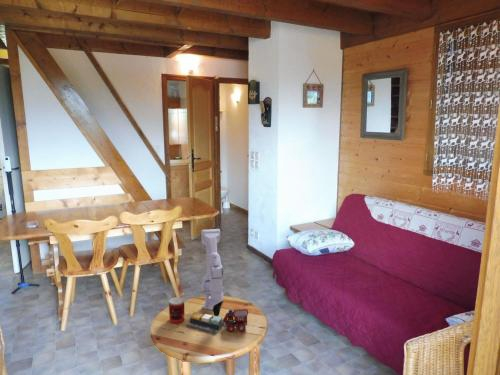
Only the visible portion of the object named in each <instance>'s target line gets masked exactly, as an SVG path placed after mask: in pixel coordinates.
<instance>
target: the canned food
mask: <svg viewBox="0 0 500 375" xmlns="http://www.w3.org/2000/svg"><path fill="white" fill-rule="evenodd" d="M168 310H169V312H168V313H169V314H168V315H169V321H170V323H171V324H173V325H174V324H175V325H179V324H182V323H183V322H184V321H185V318H186V317H185V298H183V297H180V296H174V297H172V298H169V300H168Z"/></svg>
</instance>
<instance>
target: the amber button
mask: <svg viewBox="0 0 500 375" xmlns="http://www.w3.org/2000/svg"><path fill="white" fill-rule="evenodd" d="M199 313H200V312H196V313H194V314H195V315H194V314H193V315H192V316H191V317H192V319H196V320H200V319H201V318H202V317H203V314H204V313H201V314H199Z"/></svg>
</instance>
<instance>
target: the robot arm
mask: <svg viewBox="0 0 500 375" xmlns="http://www.w3.org/2000/svg"><path fill="white" fill-rule="evenodd" d="M200 236H201V237H200V238H201V245H202V244H203V245H205V248H206V249H205V250H206V252H205V253H206V274H205V275H204V276H202V278H201V281H202V282H201V290H202V292H203V293H204V305H202V306H201V308H202V309H204V310H209V311H212V312H213V317H215V316H216V317H220V316H219V315H220V312H221V308H222V306H223V303H224V300H223V299H224V295H225V294H224V293H225V292H223V279H224V275H225V274H224V267H223V264H222V263H221V262H222V261H221V255H220V254H219V253H218V243H219V242H220V240H221V229H220V228H215V229H213V228H212V229H210V228H209V229H202V230H201V234H200Z"/></svg>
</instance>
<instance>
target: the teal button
mask: <svg viewBox="0 0 500 375" xmlns="http://www.w3.org/2000/svg"><path fill="white" fill-rule="evenodd" d="M213 317H214V318H213V319H212V320H211V324H215V325H219V324H220V323H221V322H222V319H223V318H222V317H220V316H213Z"/></svg>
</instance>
